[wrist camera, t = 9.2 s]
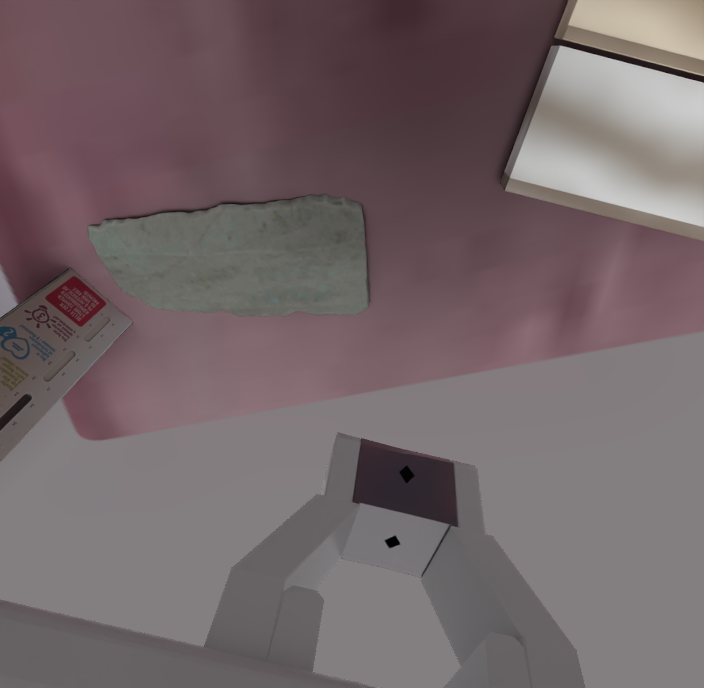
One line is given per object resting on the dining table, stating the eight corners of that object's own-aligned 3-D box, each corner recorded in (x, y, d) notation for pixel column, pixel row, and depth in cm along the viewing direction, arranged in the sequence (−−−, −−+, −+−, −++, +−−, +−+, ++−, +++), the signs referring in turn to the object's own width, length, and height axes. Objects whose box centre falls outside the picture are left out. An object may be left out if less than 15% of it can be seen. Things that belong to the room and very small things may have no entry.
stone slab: (376, 300, 41) (363, 187, 34) (373, 320, 39) (359, 205, 32) (137, 309, 45) (85, 209, 38) (123, 328, 43) (65, 226, 36)
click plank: (551, 45, 28) (560, 45, 26) (909, 138, 29) (941, 144, 27) (499, 183, 32) (504, 190, 31) (812, 262, 33) (835, 274, 31)
